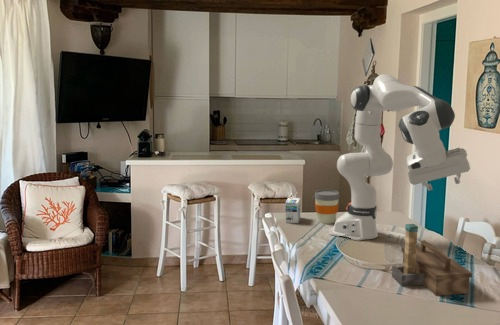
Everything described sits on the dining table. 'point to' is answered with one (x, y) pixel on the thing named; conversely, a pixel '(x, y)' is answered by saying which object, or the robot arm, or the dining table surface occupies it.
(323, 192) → the reusable coffee cup
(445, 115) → the robot arm
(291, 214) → the light bulb box
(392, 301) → the dining table surface
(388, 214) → the dining table surface
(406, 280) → the toolbox
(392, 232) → the dining table surface
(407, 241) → the wooden key
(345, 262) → the dining table surface
